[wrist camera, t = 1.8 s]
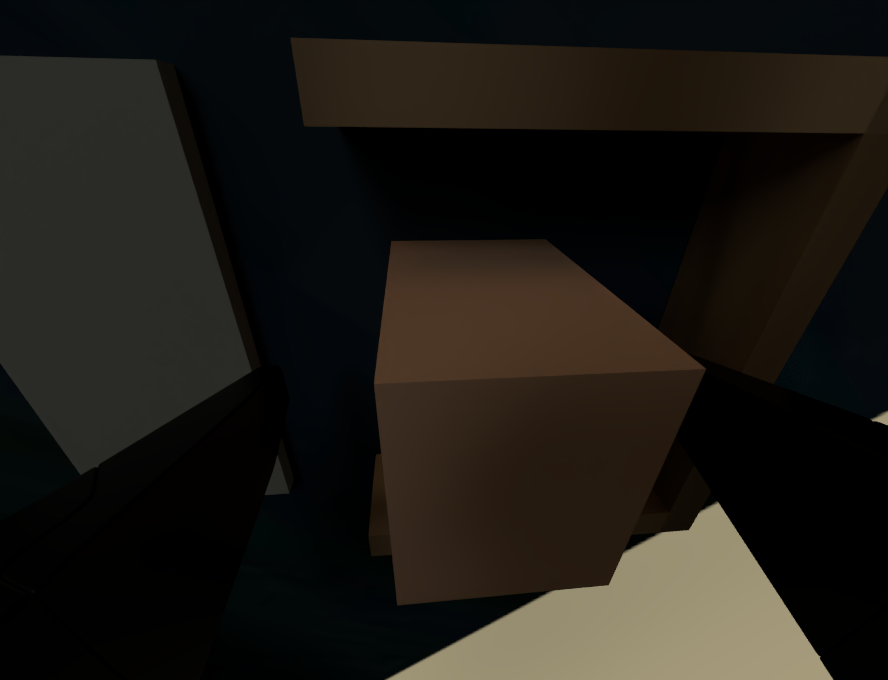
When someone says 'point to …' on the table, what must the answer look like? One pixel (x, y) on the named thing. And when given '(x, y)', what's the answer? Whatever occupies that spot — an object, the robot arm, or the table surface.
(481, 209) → the table surface
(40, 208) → the grey mat
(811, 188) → the u-shaped block
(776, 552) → the robot arm
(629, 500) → the terracotta block
